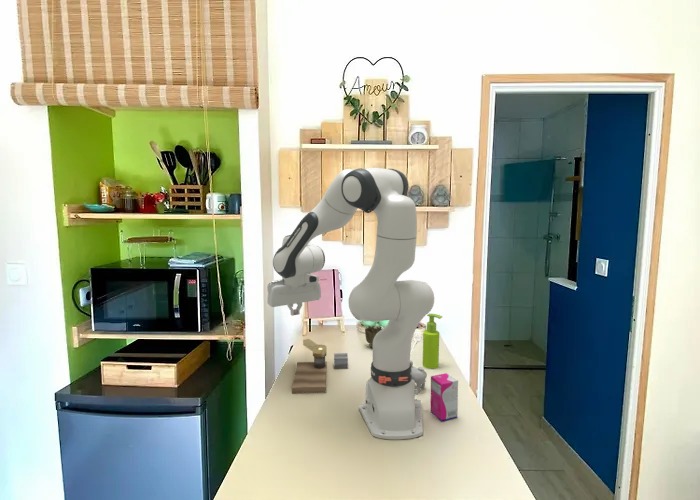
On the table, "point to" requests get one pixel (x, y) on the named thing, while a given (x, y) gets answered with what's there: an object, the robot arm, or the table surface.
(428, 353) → the soap dispenser
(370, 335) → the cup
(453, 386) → the supplement box
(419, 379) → the pig figurine
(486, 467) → the table surface
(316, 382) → the lock base
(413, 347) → the fork
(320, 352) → the latch lever
